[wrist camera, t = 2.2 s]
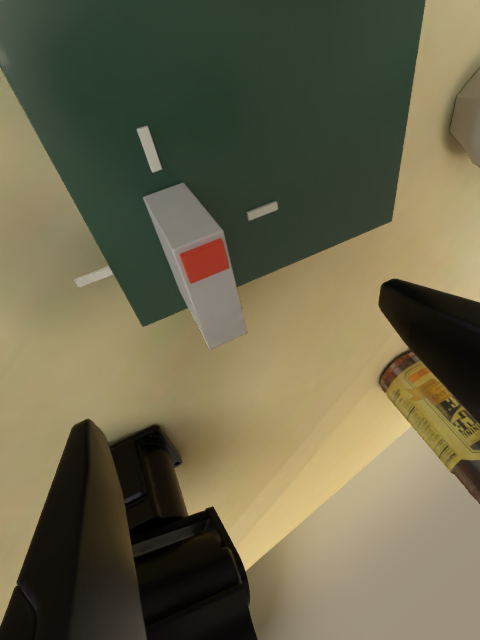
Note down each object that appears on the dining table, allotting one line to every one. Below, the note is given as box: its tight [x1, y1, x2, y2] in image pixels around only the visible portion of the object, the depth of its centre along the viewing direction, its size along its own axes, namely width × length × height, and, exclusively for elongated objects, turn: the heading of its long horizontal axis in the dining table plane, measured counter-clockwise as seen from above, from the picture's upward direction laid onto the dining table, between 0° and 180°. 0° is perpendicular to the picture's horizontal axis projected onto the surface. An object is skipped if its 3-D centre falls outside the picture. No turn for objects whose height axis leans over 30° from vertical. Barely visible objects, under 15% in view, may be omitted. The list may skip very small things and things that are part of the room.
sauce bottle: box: [380, 351, 480, 504], centre depth 31 cm, size 7×6×20 cm
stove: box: [0, 0, 425, 327], centre depth 12 cm, size 20×15×3 cm
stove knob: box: [143, 183, 247, 350], centre depth 13 cm, size 5×2×4 cm, turn 11°
